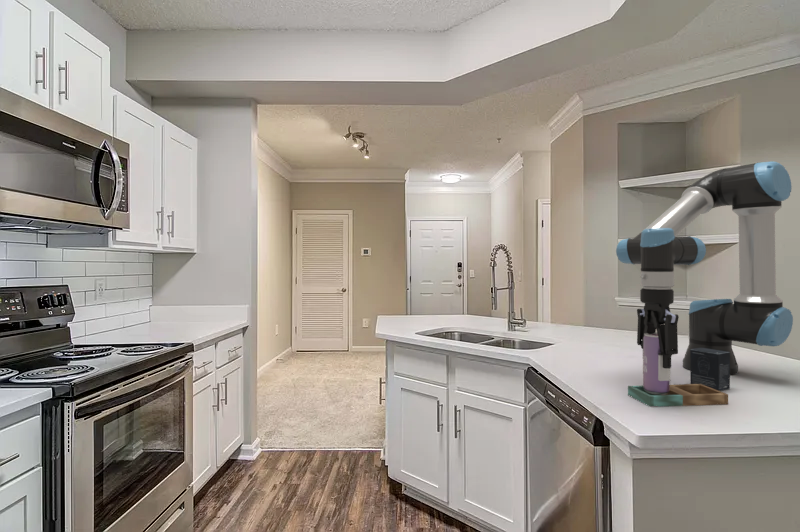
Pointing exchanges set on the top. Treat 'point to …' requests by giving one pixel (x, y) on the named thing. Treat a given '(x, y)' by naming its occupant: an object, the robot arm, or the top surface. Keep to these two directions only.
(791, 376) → the top surface
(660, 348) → the robot arm
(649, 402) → the holder board
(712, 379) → the box
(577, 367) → the top surface
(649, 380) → the beverage can
